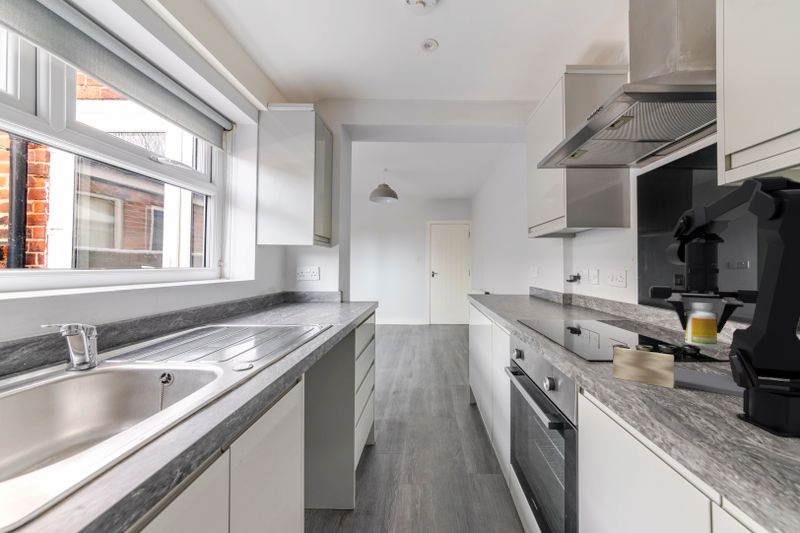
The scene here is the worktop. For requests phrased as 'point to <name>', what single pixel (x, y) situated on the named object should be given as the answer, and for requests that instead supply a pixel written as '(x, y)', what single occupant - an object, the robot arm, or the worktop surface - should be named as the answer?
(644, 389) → the worktop surface
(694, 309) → the supplement bottle
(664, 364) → the birch screen
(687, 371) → the charcoal mat
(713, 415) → the worktop surface
